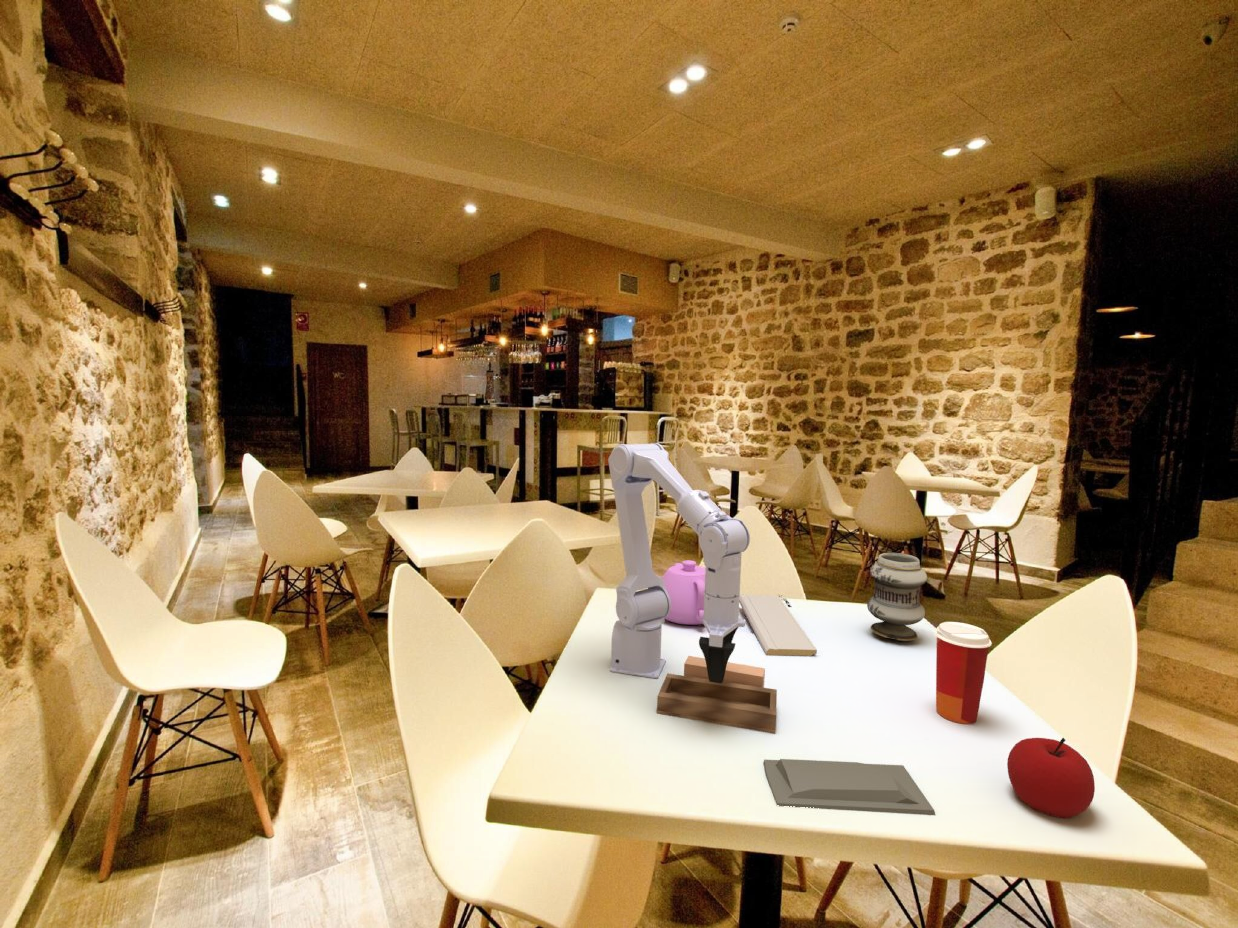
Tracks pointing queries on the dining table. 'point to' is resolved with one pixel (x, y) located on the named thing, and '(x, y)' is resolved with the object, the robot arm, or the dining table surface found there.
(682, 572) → the teapot
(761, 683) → the clay block
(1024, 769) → the apple
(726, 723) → the tray
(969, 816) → the dining table surface
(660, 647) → the robot arm
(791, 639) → the baseboard
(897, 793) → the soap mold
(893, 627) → the apothecary jar
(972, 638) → the coffee cup
